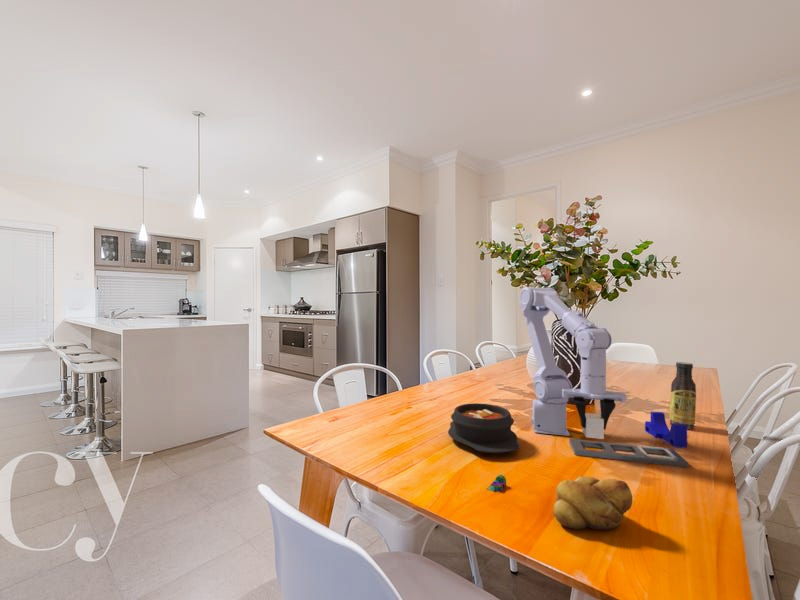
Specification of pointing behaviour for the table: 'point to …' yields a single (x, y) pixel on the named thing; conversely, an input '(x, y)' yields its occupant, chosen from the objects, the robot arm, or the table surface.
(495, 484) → the green purple lumpy wedge
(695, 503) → the table surface
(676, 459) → the grey slotted tray
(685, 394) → the sauce bottle
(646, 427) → the cable clip
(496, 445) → the casserole
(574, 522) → the bread roll
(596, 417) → the pale grey upright block
